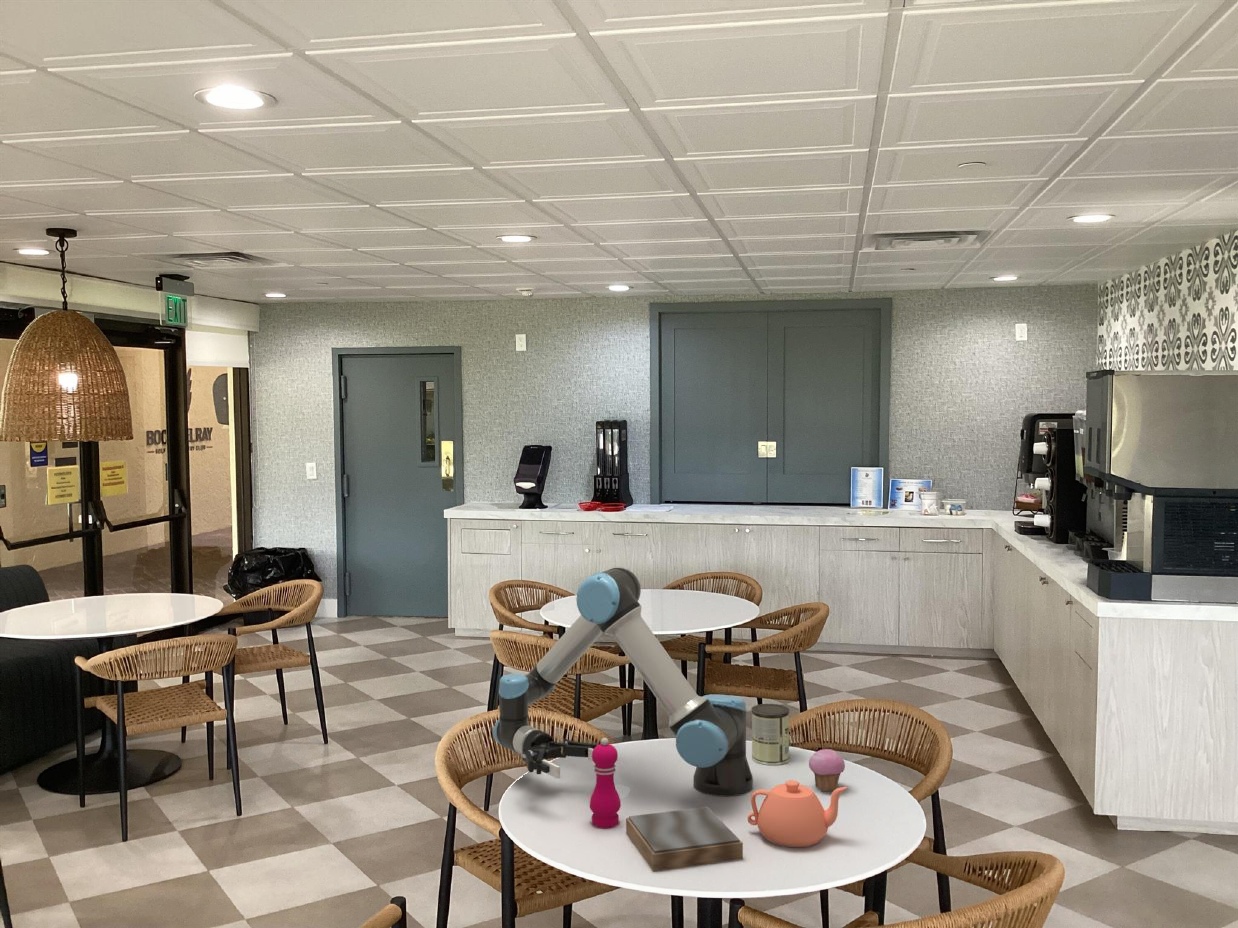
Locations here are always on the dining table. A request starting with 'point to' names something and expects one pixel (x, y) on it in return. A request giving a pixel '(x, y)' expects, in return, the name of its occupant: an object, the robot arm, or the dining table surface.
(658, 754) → the dining table surface
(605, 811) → the pepper mill
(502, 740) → the robot arm
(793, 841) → the teapot
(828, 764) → the cupcake
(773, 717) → the coffee can
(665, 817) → the walnut stand
